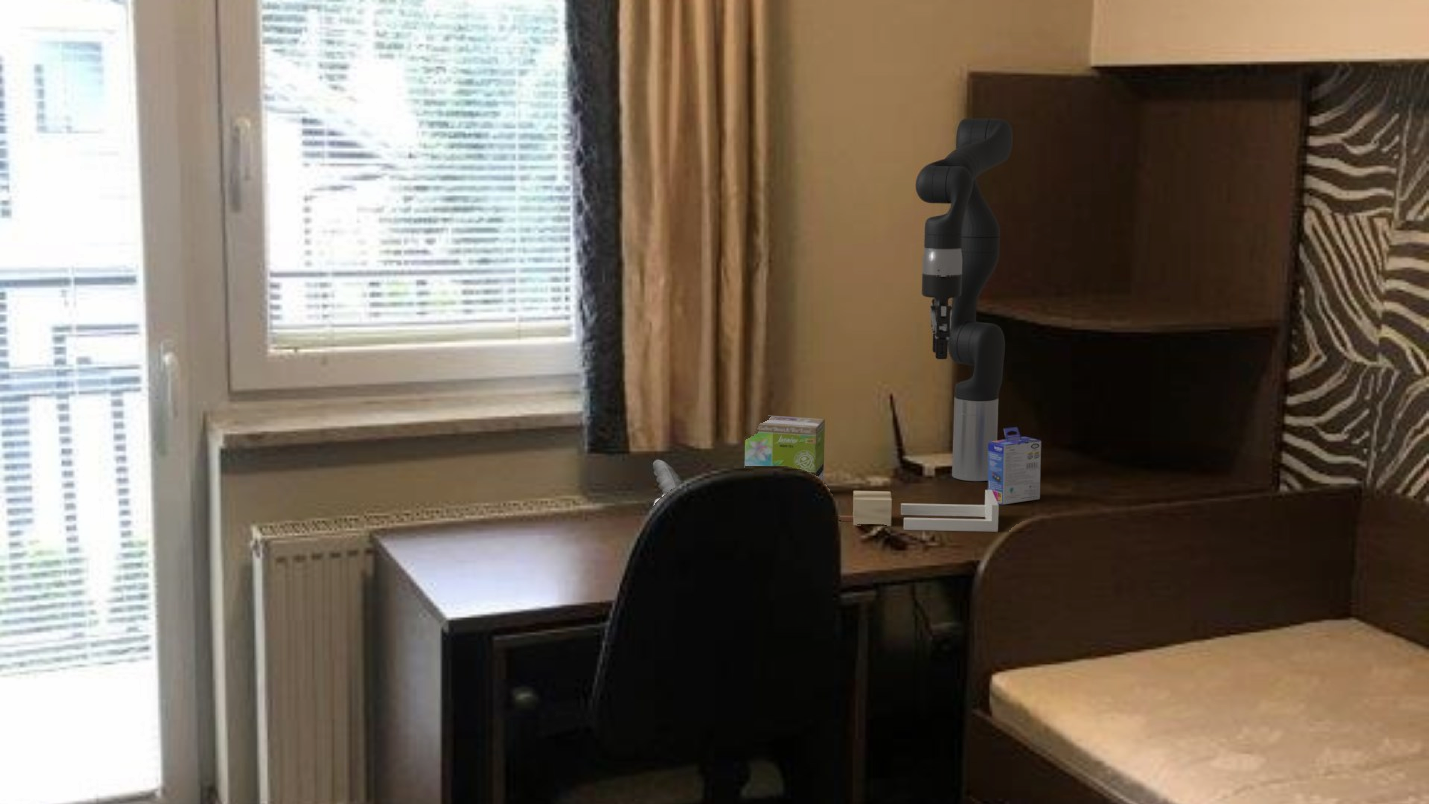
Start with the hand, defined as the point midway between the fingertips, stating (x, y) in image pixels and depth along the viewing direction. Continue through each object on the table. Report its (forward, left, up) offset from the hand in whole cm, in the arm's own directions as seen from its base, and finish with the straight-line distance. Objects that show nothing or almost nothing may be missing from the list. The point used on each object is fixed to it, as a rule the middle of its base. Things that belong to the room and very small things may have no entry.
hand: (939, 355), depth 297 cm
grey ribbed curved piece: (+11, -52, -30) cm, 61 cm away
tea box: (-13, -30, -30) cm, 45 cm away
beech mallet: (+12, -19, -30) cm, 38 cm away
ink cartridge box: (-8, +16, -30) cm, 35 cm away
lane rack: (+12, +1, -30) cm, 32 cm away
